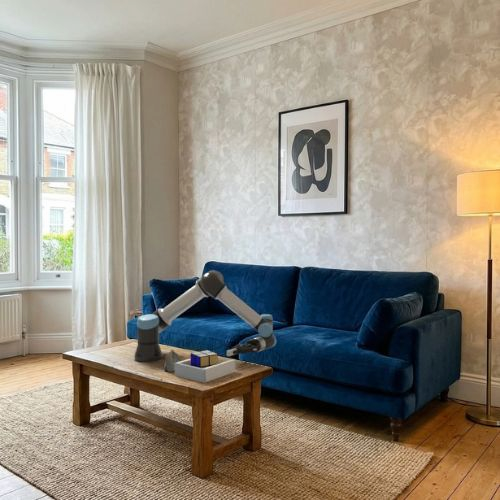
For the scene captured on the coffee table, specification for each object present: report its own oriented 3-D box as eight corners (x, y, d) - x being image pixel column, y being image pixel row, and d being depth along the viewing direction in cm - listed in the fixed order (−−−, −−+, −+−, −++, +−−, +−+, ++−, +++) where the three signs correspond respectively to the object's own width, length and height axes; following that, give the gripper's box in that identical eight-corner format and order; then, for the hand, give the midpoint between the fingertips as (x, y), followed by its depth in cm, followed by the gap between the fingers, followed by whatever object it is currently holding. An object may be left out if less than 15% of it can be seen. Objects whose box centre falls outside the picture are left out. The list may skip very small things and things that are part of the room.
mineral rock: (176, 364, 257) (176, 345, 257) (190, 368, 250) (190, 348, 250) (156, 369, 248) (156, 349, 247) (170, 373, 240) (170, 353, 240)
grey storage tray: (206, 365, 254) (206, 354, 254) (235, 371, 242) (235, 359, 242) (174, 375, 237) (174, 363, 237) (203, 382, 225) (203, 369, 224)
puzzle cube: (190, 372, 241) (190, 352, 241) (207, 369, 247) (207, 350, 246) (200, 377, 233) (200, 357, 232) (218, 374, 239) (218, 353, 238)
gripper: (265, 353, 267) (237, 362, 248) (246, 350, 275) (218, 358, 257) (265, 339, 267) (237, 348, 248) (246, 336, 275) (218, 344, 256)
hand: (227, 353), depth 252 cm, fingers closed
